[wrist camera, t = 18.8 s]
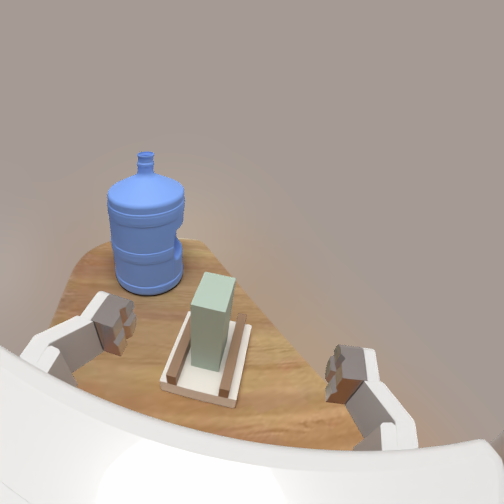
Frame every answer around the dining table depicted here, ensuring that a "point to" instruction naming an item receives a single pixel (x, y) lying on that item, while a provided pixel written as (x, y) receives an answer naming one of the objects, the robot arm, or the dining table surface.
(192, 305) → the sage cabinet
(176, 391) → the cleat board
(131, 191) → the water jug
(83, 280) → the dining table surface
